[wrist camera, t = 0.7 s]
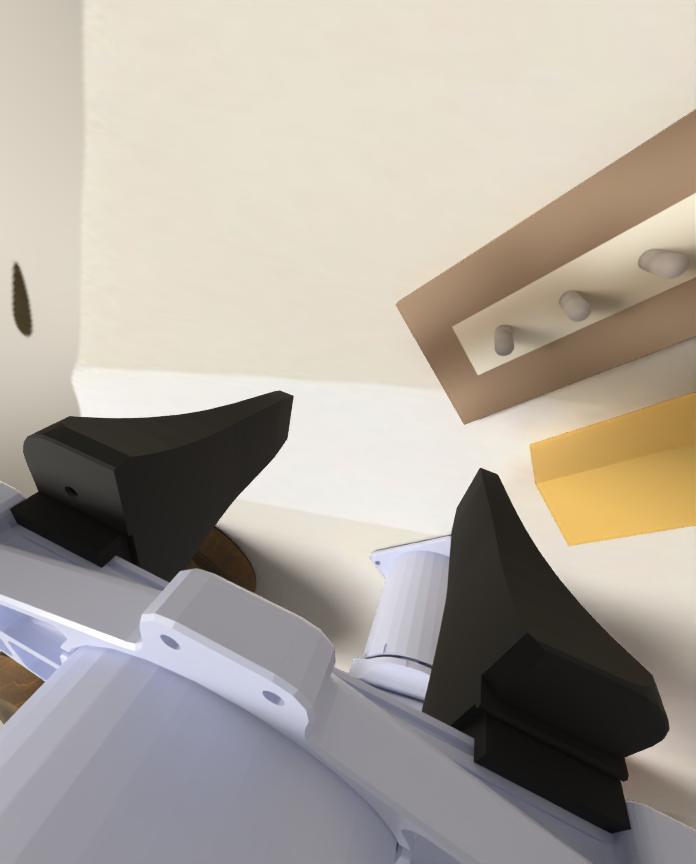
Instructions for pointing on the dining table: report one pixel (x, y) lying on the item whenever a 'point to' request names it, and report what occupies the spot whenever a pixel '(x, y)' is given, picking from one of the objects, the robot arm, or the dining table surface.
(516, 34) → the dining table surface
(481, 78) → the dining table surface
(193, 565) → the wooden container
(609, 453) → the block
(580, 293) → the pin plate
